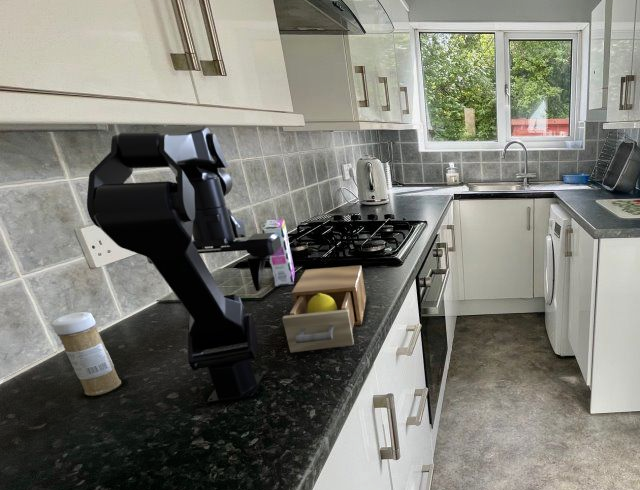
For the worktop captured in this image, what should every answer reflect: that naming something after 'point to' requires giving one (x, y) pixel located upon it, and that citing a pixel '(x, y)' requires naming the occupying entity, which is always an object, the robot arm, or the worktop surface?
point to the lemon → (321, 304)
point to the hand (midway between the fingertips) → (230, 292)
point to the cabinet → (334, 285)
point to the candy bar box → (280, 254)
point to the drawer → (320, 324)
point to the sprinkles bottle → (87, 352)
